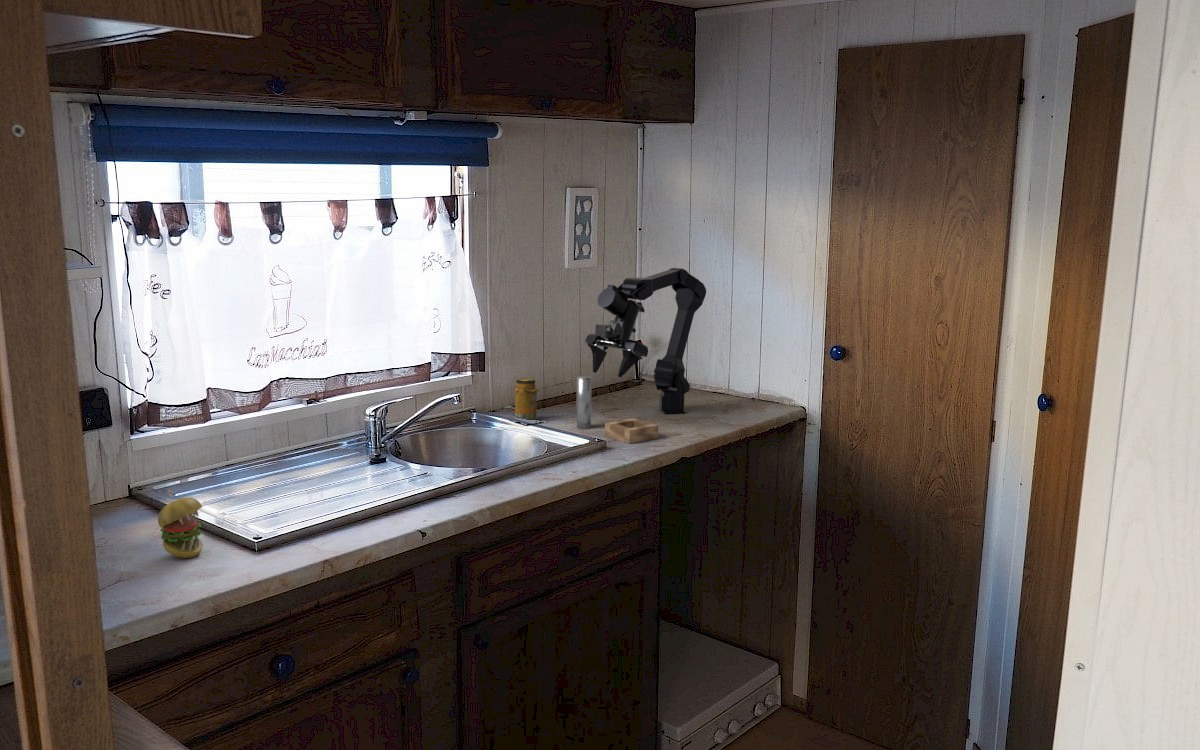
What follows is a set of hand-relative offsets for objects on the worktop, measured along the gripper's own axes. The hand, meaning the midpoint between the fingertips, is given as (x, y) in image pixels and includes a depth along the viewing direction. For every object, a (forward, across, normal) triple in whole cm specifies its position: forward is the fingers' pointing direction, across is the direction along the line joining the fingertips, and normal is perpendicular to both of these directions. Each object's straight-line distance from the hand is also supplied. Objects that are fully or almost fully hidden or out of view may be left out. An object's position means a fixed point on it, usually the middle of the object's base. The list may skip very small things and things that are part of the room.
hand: (606, 374), depth 278 cm
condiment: (+18, -21, -2) cm, 28 cm away
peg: (+15, -5, +3) cm, 16 cm away
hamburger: (+70, +12, -104) cm, 126 cm away
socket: (+14, +12, +4) cm, 19 cm away
